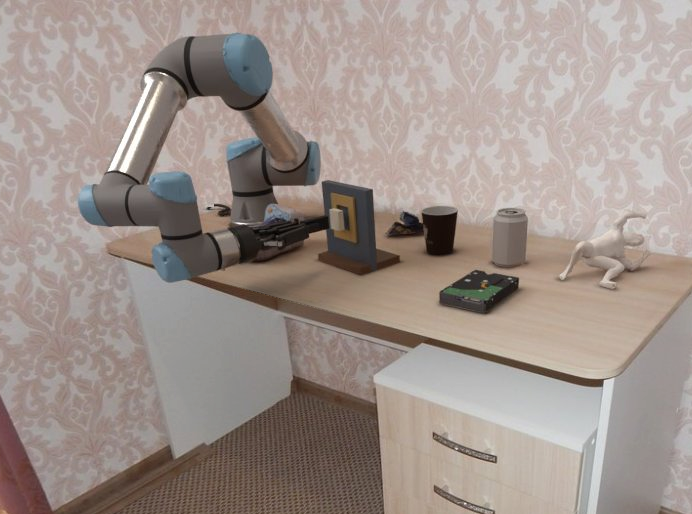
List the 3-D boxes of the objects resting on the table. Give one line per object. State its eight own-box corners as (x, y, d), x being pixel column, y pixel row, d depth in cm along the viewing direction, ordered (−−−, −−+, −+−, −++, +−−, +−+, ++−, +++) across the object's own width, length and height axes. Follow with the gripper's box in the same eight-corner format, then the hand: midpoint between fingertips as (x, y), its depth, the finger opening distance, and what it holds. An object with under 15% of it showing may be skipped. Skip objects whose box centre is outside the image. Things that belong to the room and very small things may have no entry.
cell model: (309, 204, 154) (244, 224, 142) (314, 246, 160) (252, 269, 147) (275, 197, 162) (210, 216, 149) (281, 237, 167) (219, 259, 155)
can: (526, 258, 144) (529, 206, 138) (523, 269, 138) (527, 215, 132) (494, 257, 146) (495, 205, 140) (489, 267, 140) (491, 214, 134)
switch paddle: (339, 231, 139) (337, 211, 137) (331, 228, 142) (329, 209, 139) (344, 229, 140) (342, 210, 138) (335, 227, 142) (334, 208, 140)
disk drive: (474, 281, 133) (438, 304, 122) (474, 269, 131) (438, 291, 121) (519, 290, 127) (486, 314, 117) (520, 276, 126) (486, 300, 116)
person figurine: (608, 239, 119) (646, 202, 129) (549, 242, 127) (588, 208, 138) (619, 300, 124) (654, 260, 134) (562, 299, 133) (599, 262, 143)
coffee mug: (455, 257, 147) (455, 215, 142) (419, 256, 149) (418, 215, 144) (460, 242, 157) (460, 202, 152) (426, 242, 159) (426, 202, 154)
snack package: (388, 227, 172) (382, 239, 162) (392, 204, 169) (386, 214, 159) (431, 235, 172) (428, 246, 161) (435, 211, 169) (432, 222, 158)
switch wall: (360, 275, 139) (354, 193, 131) (318, 260, 150) (310, 183, 141) (400, 261, 146) (397, 183, 137) (357, 248, 157) (351, 174, 148)
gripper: (219, 257, 131) (311, 233, 144) (251, 271, 122) (346, 244, 136) (213, 222, 127) (307, 200, 141) (246, 233, 119) (343, 209, 132)
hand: (326, 221), depth 138 cm, fingers closed
